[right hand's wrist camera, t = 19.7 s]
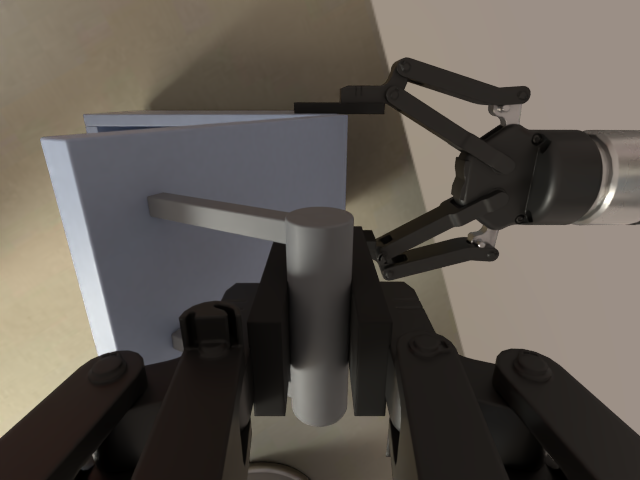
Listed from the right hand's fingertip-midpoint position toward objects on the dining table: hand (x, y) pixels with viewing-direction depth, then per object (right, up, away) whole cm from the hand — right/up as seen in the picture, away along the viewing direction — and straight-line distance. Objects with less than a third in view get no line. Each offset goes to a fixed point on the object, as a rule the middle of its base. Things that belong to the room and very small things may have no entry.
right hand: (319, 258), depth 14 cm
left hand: (-2, +6, +15) cm, 16 cm away
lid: (-4, +2, +5) cm, 6 cm away
